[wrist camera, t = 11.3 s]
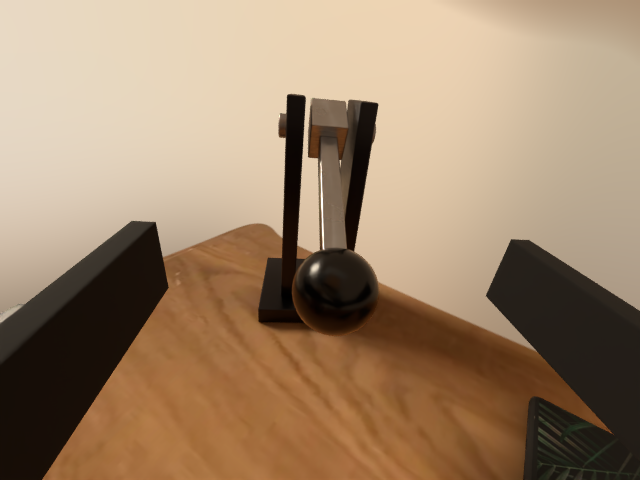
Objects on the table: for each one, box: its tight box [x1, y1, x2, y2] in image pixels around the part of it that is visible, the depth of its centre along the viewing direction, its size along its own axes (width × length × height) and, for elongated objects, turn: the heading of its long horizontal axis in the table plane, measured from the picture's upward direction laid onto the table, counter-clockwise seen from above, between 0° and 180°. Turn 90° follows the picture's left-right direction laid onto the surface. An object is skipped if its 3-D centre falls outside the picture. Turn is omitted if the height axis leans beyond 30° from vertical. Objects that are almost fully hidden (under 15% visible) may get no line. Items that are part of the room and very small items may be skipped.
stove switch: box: [258, 94, 378, 323], centre depth 20 cm, size 7×8×15 cm
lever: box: [292, 98, 379, 336], centre depth 15 cm, size 14×4×4 cm, turn 4°
